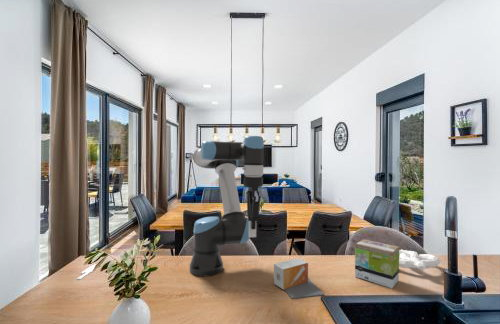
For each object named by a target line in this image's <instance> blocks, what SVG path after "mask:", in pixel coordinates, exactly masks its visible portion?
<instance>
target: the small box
mask: <svg viewBox="0 0 500 324" xmlns="http://www.w3.org/2000/svg"><path fill="white" fill-rule="evenodd" d="M308 278H309V262H307V261H305V260H304V259H301V258H299V257H296V258H292V259H289V260H284V261H280V262H276V263H274V264H273V284H274V285H276V286H277V287H279V288H280V289H281V290H284V291H285V289H287V288H290V287H293V286H296V285H300V284H303V283H306V282H308Z"/></svg>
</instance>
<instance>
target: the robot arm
mask: <svg viewBox="0 0 500 324" xmlns="http://www.w3.org/2000/svg"><path fill="white" fill-rule="evenodd" d="M264 142H265V141H264V137H262V136H260V135H246V136H244V141H243V142H242V141H241V142H239V141H238V142H237V141H213V140H208V141H202V142H201V146H200V148H197V149H196V150H195V151H194V153H193V156H192V160H193V162H194V164H195V165H197V166H198V167H200V168H203V169H208V170H209V169H212V170H213V169H214V173H216V174H217V175H218V180H219V187H220V196H221V202H222V208H223V209H222V210H223V214H222V216H221V219H220V217H219V216H216V215H215V216H206V217H202V218H199V219H197V220H195V222H194V224H193V255H192V257H191V260H190V263H189V273H191V274H192V275H194V276H197V277H199V276H200V277H209V276H214V275H218V274H220V273H221V272H222V271H223V270H224V262H223V259H222V257H221V253H220V246H227V245H240V244H245V243H247V242H248V241H249V240H250V238H257V221H259V216H260V215H259V213H260V202H261V199H262V198H261V196H260V191H259V188H261V187H263V186H264V177H263V175H264V149H265V148H264V147H265V145H264ZM239 161H243V167H242V170H243V175H244V177H243V186H244V187H247V188H248V189H247V191H246V209H247V210H246V212H247V214H246V215H247V217H246V215H245V212H243V211H242V210H241V203H240V197H239V191H238V187H237V186H238V185H237V181H236V175H235V172H236V170H237V168H238V167H239Z"/></svg>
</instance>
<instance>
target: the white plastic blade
mask: <svg viewBox="0 0 500 324" xmlns="http://www.w3.org/2000/svg"><path fill="white" fill-rule="evenodd" d="M95 265H96V264H93V265H90V266H88V267H87V268H86V269H84V270H83V271H81V272H79V275H81V276H78V277H77V278H76V280H82V279H84V278H85V277H87V276H89V275H90V274H91V273H93V272H94V271H93V269H94V267H95Z"/></svg>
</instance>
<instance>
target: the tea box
mask: <svg viewBox="0 0 500 324" xmlns="http://www.w3.org/2000/svg"><path fill="white" fill-rule="evenodd" d="M354 248H355V249H354V252H355V253H354V254H355V255H354V276H355V278H359V279H363V280H365V281H368V282H371V283H375V284H377V285H380V286H384V287H386V288H389V289H393V288H394V286H396V284H397V283H398V282H399V281H400V279H399V278H400V267H399V250H400V246H398V245H397V246H396V245H393V244H387V243H383V242H378V241H374V240H370V239H364V238H363V239H361V240H360V241H358V242H357V243H355V247H354Z"/></svg>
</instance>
